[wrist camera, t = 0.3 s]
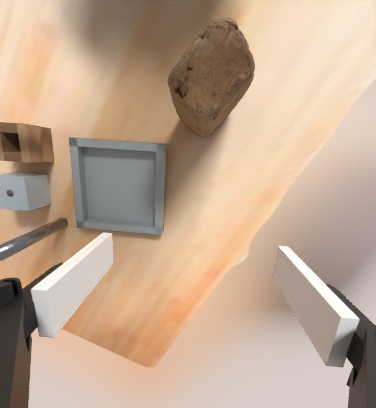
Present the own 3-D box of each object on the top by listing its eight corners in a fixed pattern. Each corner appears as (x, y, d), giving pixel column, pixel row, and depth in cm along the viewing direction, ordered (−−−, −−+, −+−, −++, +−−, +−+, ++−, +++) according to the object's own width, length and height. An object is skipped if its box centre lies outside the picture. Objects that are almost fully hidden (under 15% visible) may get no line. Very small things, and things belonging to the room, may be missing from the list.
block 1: (18, 172, 43) (-11, 174, 37) (47, 174, 43) (23, 177, 37) (23, 201, 45) (-4, 208, 39) (51, 203, 45) (28, 211, 39)
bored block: (19, 126, 40) (-11, 121, 35) (50, 128, 40) (25, 123, 34) (24, 159, 42) (-4, 160, 36) (54, 161, 42) (30, 162, 36)
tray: (76, 138, 40) (69, 137, 38) (166, 144, 40) (164, 144, 37) (83, 223, 45) (77, 227, 43) (163, 230, 44) (161, 234, 42)
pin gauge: (57, 217, 45) (-17, 249, 30) (67, 218, 45) (-2, 250, 30) (58, 226, 46) (-13, 262, 30) (68, 227, 46) (1, 264, 30)
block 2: (201, 143, 39) (203, 131, 20) (176, 116, 38) (152, 74, 19) (241, 103, 37) (288, 45, 17) (216, 73, 36) (236, -26, 16)
